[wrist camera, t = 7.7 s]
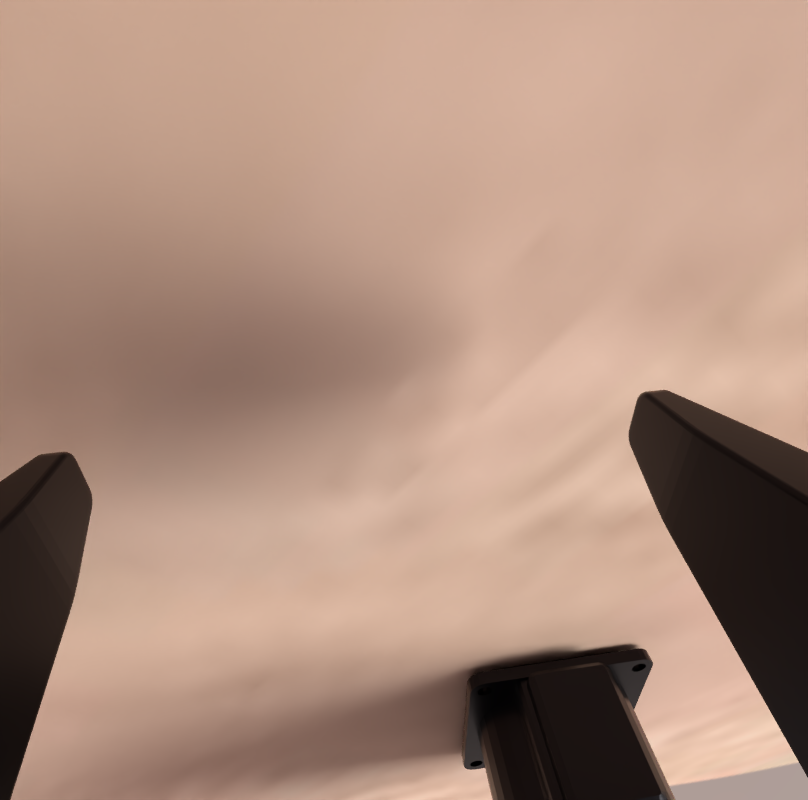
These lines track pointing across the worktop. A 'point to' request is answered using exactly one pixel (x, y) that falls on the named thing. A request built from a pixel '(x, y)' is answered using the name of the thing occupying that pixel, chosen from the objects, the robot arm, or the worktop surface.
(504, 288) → the worktop surface
